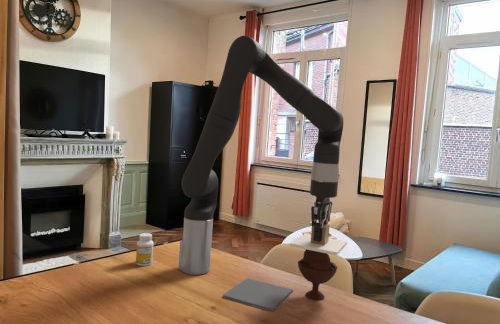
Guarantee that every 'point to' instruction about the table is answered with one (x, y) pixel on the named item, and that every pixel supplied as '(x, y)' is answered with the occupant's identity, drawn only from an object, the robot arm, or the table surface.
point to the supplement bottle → (144, 250)
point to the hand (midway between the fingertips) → (319, 239)
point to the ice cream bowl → (316, 271)
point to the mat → (258, 294)
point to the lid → (324, 245)
